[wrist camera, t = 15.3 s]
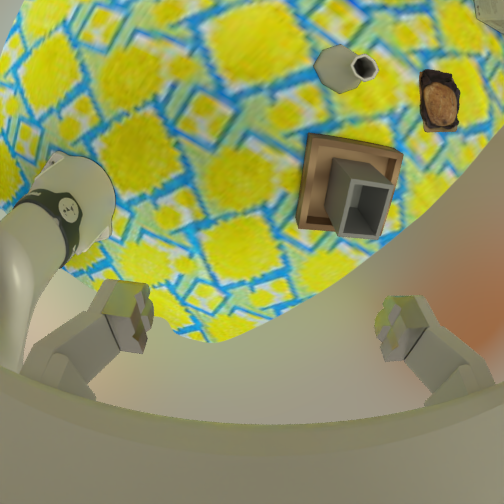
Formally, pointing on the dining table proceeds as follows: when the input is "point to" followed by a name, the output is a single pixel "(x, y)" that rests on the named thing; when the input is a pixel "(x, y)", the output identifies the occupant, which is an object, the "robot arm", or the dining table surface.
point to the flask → (344, 68)
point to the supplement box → (491, 13)
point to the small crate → (357, 199)
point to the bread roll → (438, 101)
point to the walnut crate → (318, 174)
